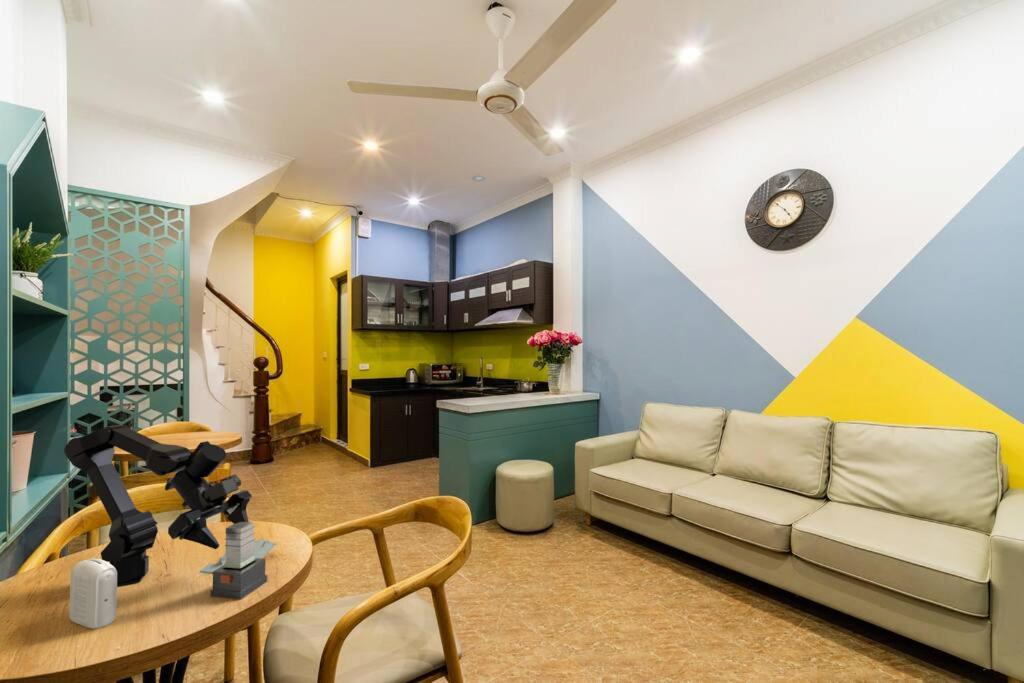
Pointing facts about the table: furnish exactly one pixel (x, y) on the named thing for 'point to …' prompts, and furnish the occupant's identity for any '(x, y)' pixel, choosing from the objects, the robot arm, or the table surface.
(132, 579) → the robot arm
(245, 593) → the collar
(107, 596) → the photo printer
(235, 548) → the column
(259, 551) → the metal bracket
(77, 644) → the table surface
